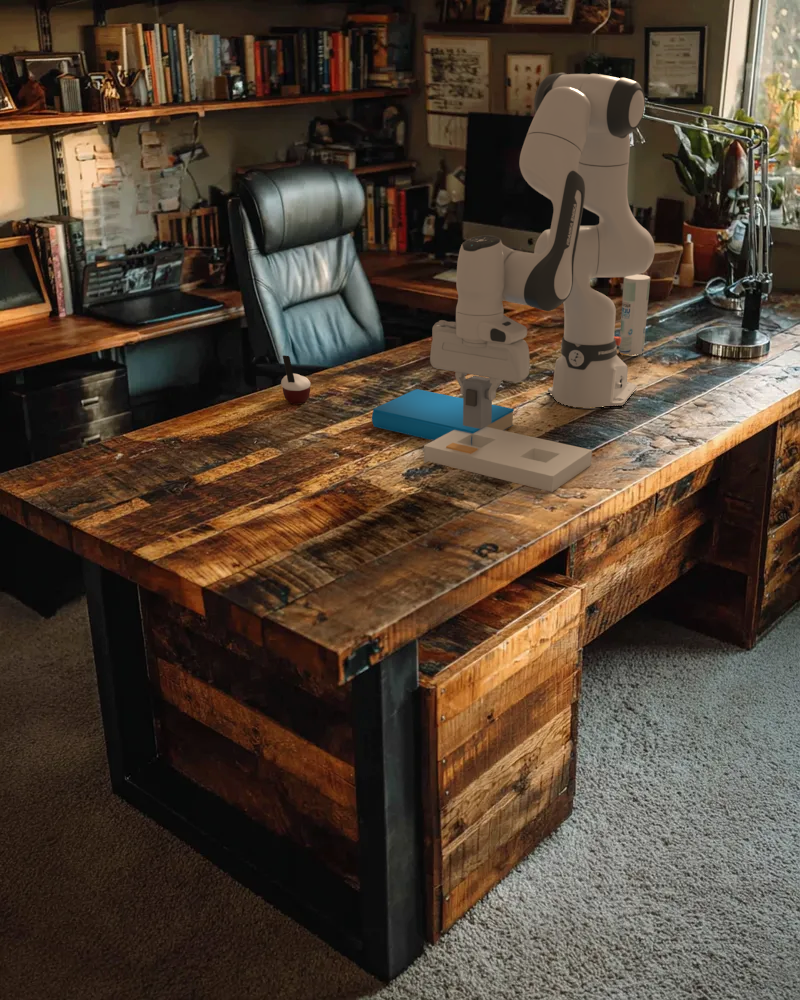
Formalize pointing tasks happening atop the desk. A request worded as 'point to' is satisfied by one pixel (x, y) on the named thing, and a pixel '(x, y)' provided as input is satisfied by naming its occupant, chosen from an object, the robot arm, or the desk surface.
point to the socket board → (510, 457)
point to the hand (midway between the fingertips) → (477, 396)
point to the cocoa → (294, 385)
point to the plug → (476, 402)
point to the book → (432, 415)
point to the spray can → (634, 314)
